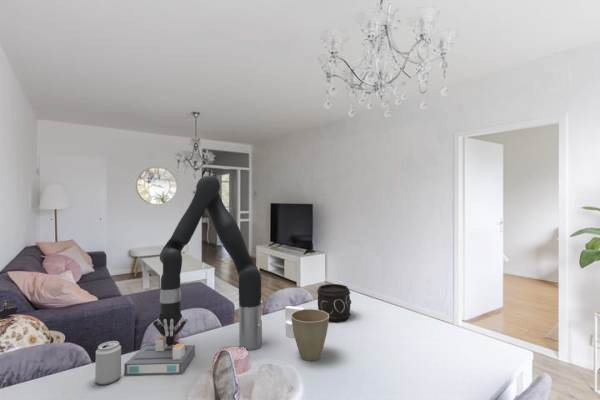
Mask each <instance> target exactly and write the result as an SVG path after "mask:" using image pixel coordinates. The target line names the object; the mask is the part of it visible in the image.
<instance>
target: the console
mask: <svg viewBox="0 0 600 400" xmlns="http://www.w3.org/2000/svg"><path fill="white" fill-rule="evenodd" d="M174 346H175V345H174ZM174 346H167V348H166V349H165V350H164V351H155V345H144V346H143V347H142V348H140V349H139V350H138V351H137V352H136V353H135V354H134V355H132V357H130V358H129V359H128V360H127V361H126V362H125V363H124V364H123V366H124V367H123V368H124V373H123V374H124V376H154V375H155V376H157V375H182V374H183V373H184V372H185V370H186V369H187V367H188V366H189V364H190V363H191V361H192V360H193V358H194V357H195V355H196V347H195V346H196V345H195V344H185V355H184V356H183V358H182V359H181V360H173V347H174Z"/></svg>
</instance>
